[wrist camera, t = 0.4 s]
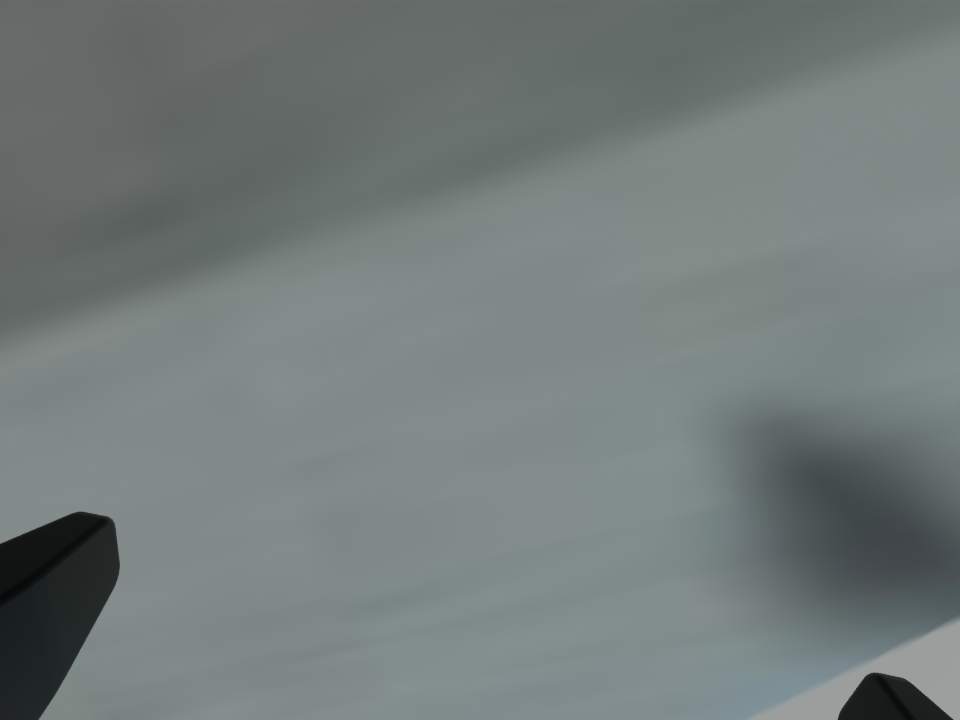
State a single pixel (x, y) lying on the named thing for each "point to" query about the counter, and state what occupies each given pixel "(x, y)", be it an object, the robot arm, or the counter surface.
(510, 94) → the counter surface
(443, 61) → the counter surface
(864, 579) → the counter surface
